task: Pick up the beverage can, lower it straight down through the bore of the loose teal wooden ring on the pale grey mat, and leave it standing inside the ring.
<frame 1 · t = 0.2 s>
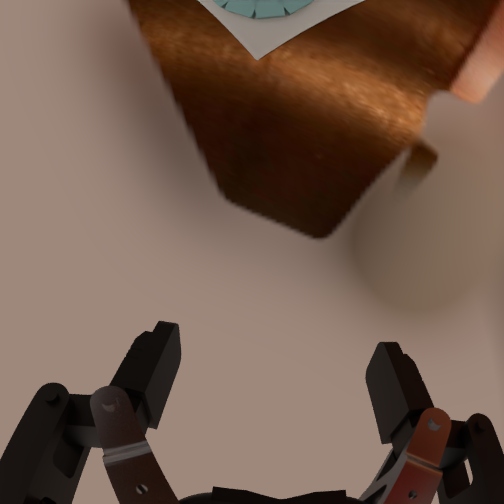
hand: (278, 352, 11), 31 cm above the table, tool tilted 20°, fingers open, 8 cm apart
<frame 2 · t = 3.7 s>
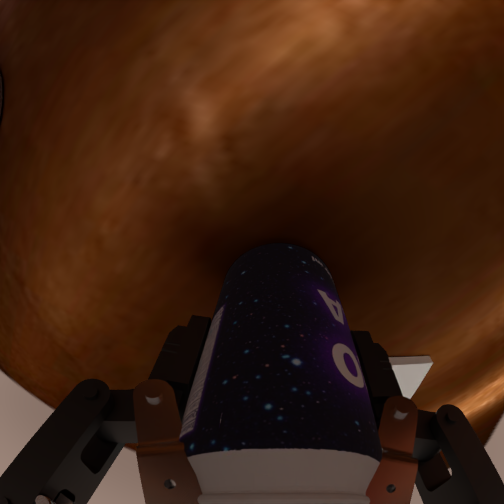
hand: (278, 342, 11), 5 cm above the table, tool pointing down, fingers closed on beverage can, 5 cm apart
beverage can: (278, 283, 16), on the table, touching gripper
mat: (290, 426, 21), on the table
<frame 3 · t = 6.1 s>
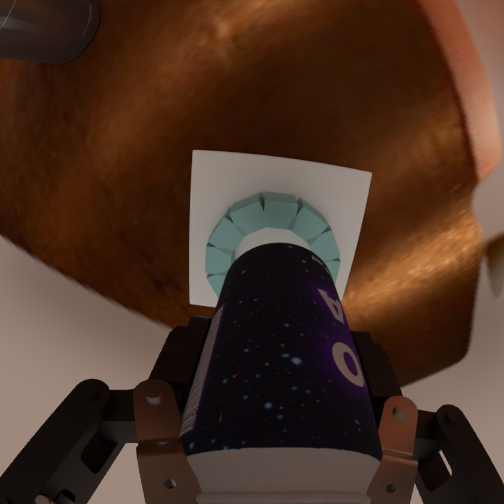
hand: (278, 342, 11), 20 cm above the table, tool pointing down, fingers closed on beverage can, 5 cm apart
beverage can: (278, 283, 16), point 15 cm above the table, touching gripper
ring: (272, 252, 31), point 1 cm above the table, touching mat
mat: (273, 241, 31), on the table
when the fingers open (7 cm above the table, at t = 8.8 s): beverage can drops 1 cm, resting on mat.
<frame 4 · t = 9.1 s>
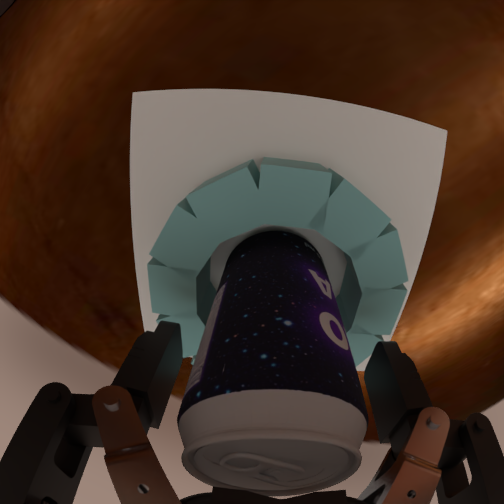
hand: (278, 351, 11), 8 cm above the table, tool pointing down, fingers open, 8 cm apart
beverage can: (274, 269, 17), point 1 cm above the table, touching mat
ring: (277, 272, 17), point 1 cm above the table, touching mat
mat: (279, 251, 17), on the table
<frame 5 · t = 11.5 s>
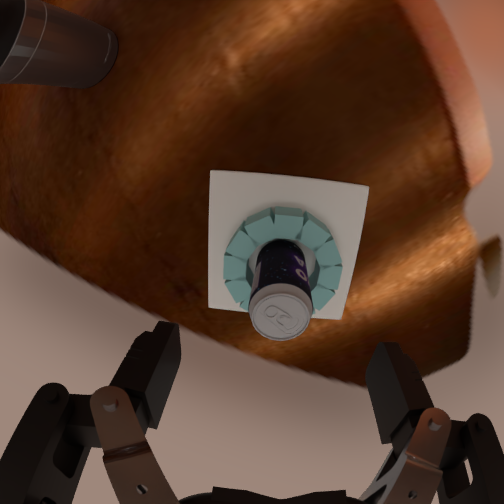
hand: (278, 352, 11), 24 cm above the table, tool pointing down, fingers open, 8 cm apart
beverage can: (281, 258, 35), point 1 cm above the table, touching mat
ring: (282, 260, 35), point 1 cm above the table, touching mat
mat: (283, 249, 35), on the table
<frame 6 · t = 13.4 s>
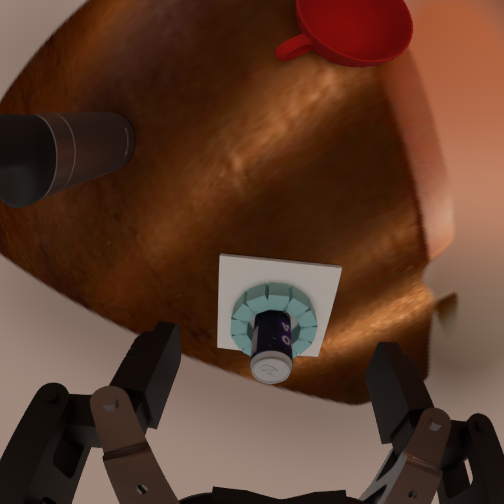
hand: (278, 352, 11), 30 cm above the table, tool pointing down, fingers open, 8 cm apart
beverage can: (272, 316, 46), point 1 cm above the table, touching mat
ring: (273, 317, 46), point 1 cm above the table, touching mat
mat: (274, 309, 46), on the table
ceramic cup: (327, 41, 29), on the table
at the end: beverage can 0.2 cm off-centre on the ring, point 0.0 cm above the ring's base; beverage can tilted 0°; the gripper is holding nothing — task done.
